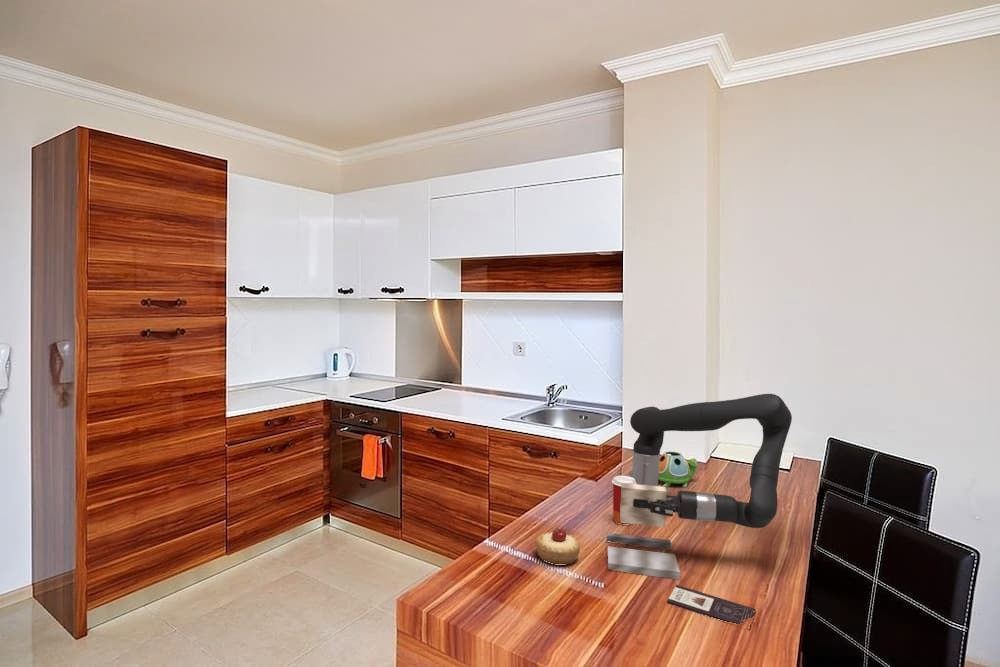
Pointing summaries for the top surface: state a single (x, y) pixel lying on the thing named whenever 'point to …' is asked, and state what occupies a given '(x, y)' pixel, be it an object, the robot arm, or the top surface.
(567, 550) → the pastry
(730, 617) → the chocolate bar
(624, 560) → the mating board
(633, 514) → the beige rectangular block
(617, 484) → the paper cup
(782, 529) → the top surface
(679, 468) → the turtle holder
